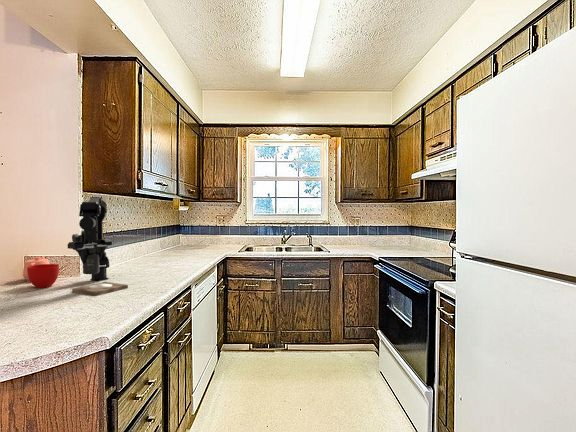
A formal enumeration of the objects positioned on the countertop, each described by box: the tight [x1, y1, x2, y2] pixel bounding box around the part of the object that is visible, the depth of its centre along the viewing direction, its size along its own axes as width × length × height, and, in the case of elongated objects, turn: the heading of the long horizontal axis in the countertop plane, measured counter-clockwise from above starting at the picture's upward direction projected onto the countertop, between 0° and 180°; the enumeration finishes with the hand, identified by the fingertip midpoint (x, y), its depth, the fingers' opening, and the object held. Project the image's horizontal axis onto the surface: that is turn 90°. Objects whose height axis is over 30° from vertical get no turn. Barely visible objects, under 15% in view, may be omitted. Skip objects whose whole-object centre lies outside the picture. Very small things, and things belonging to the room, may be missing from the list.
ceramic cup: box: [27, 263, 60, 289], centre depth 184 cm, size 13×17×10 cm
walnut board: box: [71, 281, 129, 297], centre depth 175 cm, size 17×16×2 cm
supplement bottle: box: [82, 246, 99, 275], centre depth 174 cm, size 7×7×12 cm
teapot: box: [22, 255, 51, 282], centre depth 200 cm, size 20×12×12 cm, turn 17°
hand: (91, 262), depth 174 cm, fingers closed on supplement bottle, 7 cm apart
